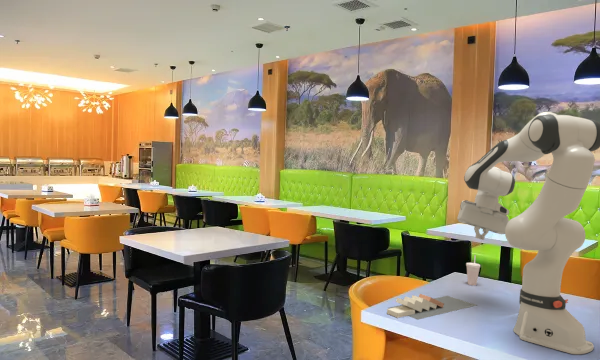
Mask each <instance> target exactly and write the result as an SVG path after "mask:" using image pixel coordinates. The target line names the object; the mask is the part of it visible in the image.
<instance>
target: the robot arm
mask: <svg viewBox="0 0 600 360" xmlns="http://www.w3.org/2000/svg"><path fill="white" fill-rule="evenodd" d="M599 149H600V121H598V120H595V119H592V118H584V117H579V116H572V115H566V114H557V113H555V112H553V111H542V112H540V113H538V114H537V115H535V116H534V117H533V118H532V119H530V120H529V121H528V122H527V123H526V125H524V127H523V128H522V129H521V130H520V131H519V132H518V133H517V134H516V135H513V136H512V137H510V138H507V139H504V140H500V141H499V142H498V143H496V144H495V145H494V146H493V147H492V148H491V149H490V150H488V152H486V153H485V154H484V155H483V156H481V158H480V159H478V160H477V161H476V162H475V163H473V164H471V165H470V166H468V168H467V169H466V171H465V174H464V177H463V180H464V183H465V184H466V186H467V187H468V188H469V189H471V190H475V191H477V193H476V195H475V198H474V202H473V201H470V200H467V199H466V200H465V199H464V200H462V201H461V202H460V206H459V211H458V215H457V218H456V219H457V222H458V223H462V224H465V225H469V226H471V227H473V229H474V230H473V231H474V233H475V239H478V240H481V241H484V240H485V238H486V235H487V234H488V233H489V232H491V233H495V234H498V235H504V236H505V239H506V240H507V241H506V242H508V244H509V245H510V246H511V247H514V248H516V249H521V250H525V251H538V252H537V254H536V255H535V256H534V257H533V258H532V259H531V260H530V261H528V262H527V263H525V265H524V266H523V269H522V284H521V288H520V290H519V291H520V292H519V310H518V316H517V319H516V322H515V325H514V328H513V332H514V334H516V335H518V337H519V339H520V340H522V341H525V342H529V343H532V344H536V345H540V346H542V347H546V348H549V349H553V350H557V351H560V352H564V353H567V354H571V355H585V354H588V353H590V352H592V351H593V350H594V344H593V342H591V341H589V340H587V339H586V331H585V327H584V324H582V323H581V322H580V321H579V320H578V319H577V318H576V317H575V316H573V314H572V313H571V312H570V311H569V310H567V309H566V305H567V303H569V299H564V298H563V297H562V295H561V288H562V287H561V286H562V277H563V273H564V269H565V266H566V265H567V263H568V261H569V258H571V256H572V255H573V254H574V253H575V252H576V251H577V250H578V249H579V248H581V247H582V246H583V244H584V243H585V240H586V231H585V228H584V226H583V225H582V224H581V223H580V222H579V221H577V220H575V219H571V218H568V217H567V218H566V216H568V215H570V214H572V213H573V212H575V211H576V210H577V209H578V208H579V207H580V203H581V201H582V200H583V197H584V194H585V192H586V189H587V188H588V186H589V182H590V181H591V177H592V175H593V172H594V171H593V170H594V165H595V163H596V162H595V160H596V159H595V158H596V157H595V155H594V153H593V152H594V151H597V150H599ZM550 154H551V155H552V158H553V159H552V160H553V161H552V162H551V163H552V164H551V166H550V168H549V171H548V173H547V175H546V178H545V181H544V183H543V185H542V188H541V189H540V192H539V194H538V196H537V197H536V199H535V200H534V201H533V202H532V203H531V204H530V205H529V207H527V208H526V209H525V210H524V211H523V212H521V213H520V214H519V215H516V216H515V217H513V218H511V219H509V217H508V215H509V214H510V210H509V209H508V208H506V207H504V205H502V204H501V203H499V197H500V196H502V197H505V196H508V195H510V194H511V193H513V192H514V190H515V186H516V179H515V177H514V175H513V174H512V173H510V172H509V171H505V170H502V169H501V168H499V167H497V164H500V163H502V162H503V163H504V162H520V163H521V162H522V163H530V162H531V163H532V162H535V161H537V160H539V159H541V158H543V157H544V156H545V155H550ZM480 229H481V230H482V232H483V233H480Z"/></svg>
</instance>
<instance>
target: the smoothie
mask: <svg viewBox="0 0 600 360" xmlns="http://www.w3.org/2000/svg"><path fill="white" fill-rule="evenodd" d="M476 256H477V255H476V254H474V258H473V259H474V260H473V262H466V263H465V266H466V275H467V277H466V278H467V285H469V286H474V285H475V286H477V282H478V278H479V272H480V268H481V264H479V263H477V262H476Z"/></svg>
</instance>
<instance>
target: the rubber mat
mask: <svg viewBox="0 0 600 360" xmlns="http://www.w3.org/2000/svg"><path fill="white" fill-rule="evenodd" d="M432 298H433V299H436V300H438V301H440V302H442V303H444V305H443V308H442V307H439V306H437V307H436V309H434V308H431V307H430V308H429V311H428V310H425V309H422V312H419V311H416V310H415V314H412V315H408V316H407V317H410V318H412V319H415V320H417V321H418V320H422V319H426V318H430V317H435V316H440V315H442V314H446V313H452V312H456V311H459V310H465V309H468V308H471V307H477V306H478V304H475V303H472V302H469V301H465V300H463V299H460V298H456V297H453V296H450V295H444V296H439V297H432ZM400 306H404V305H402V304H399V305H396V306H395V305H394V306H390V307H388V309H390V308H395V307H400Z"/></svg>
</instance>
